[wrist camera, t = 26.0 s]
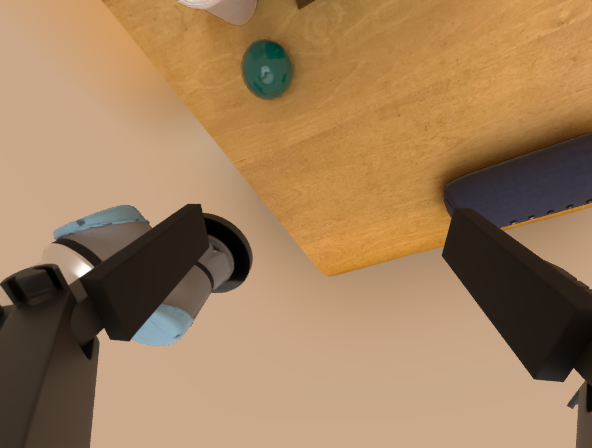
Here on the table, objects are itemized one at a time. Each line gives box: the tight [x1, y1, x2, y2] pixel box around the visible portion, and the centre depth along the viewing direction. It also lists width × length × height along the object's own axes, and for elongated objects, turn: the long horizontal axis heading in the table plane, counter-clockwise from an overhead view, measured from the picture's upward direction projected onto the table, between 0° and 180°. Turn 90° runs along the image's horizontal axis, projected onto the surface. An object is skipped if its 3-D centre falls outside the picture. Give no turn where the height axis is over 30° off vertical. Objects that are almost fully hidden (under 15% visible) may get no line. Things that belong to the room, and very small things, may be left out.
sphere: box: [241, 38, 294, 100], centre depth 37 cm, size 8×8×8 cm
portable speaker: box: [444, 132, 592, 228], centre depth 38 cm, size 25×10×10 cm, turn 114°
